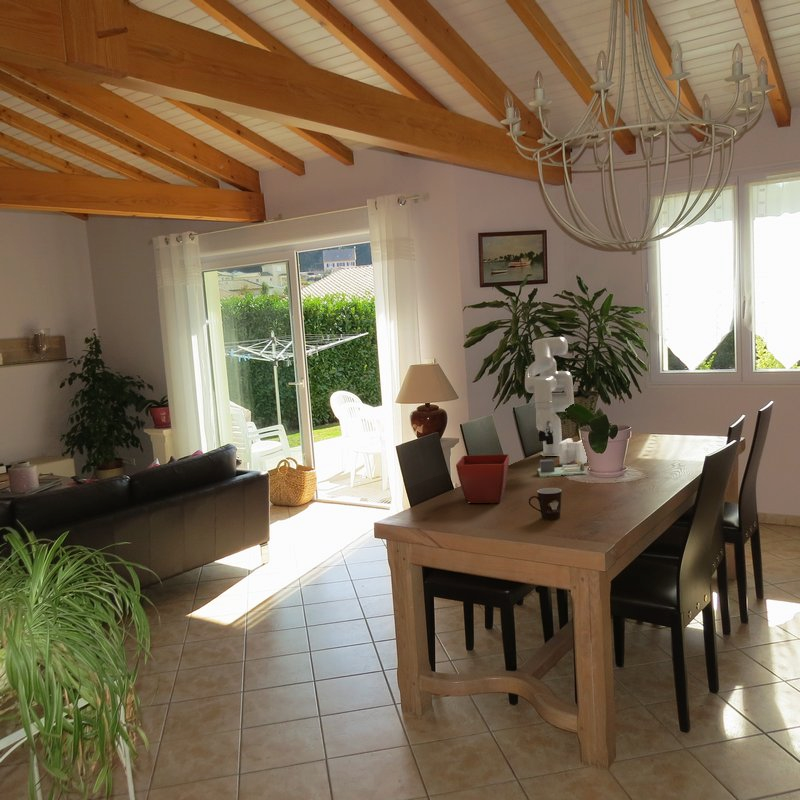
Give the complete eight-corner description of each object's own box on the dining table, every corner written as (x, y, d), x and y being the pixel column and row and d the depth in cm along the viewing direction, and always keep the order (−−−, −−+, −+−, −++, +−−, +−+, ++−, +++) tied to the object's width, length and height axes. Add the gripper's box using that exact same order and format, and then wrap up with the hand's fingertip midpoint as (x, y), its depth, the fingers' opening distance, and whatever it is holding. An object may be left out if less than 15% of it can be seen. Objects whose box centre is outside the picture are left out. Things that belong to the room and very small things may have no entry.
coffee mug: (563, 514, 279) (561, 487, 277) (563, 521, 270) (561, 493, 269) (531, 515, 281) (529, 488, 280) (529, 521, 273) (527, 494, 272)
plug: (540, 470, 352) (539, 459, 352) (553, 469, 351) (553, 459, 351) (541, 472, 348) (540, 461, 348) (554, 471, 347) (553, 460, 347)
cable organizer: (580, 467, 357) (578, 443, 356) (558, 466, 363) (557, 442, 361) (590, 461, 369) (589, 437, 368) (569, 460, 375) (568, 437, 374)
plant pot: (507, 506, 297) (504, 463, 296) (458, 506, 302) (455, 464, 300) (511, 494, 316) (509, 453, 314) (466, 495, 321) (463, 455, 319)
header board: (538, 470, 357) (537, 460, 357) (581, 468, 355) (581, 457, 354) (539, 477, 344) (539, 466, 343) (585, 474, 341) (584, 463, 341)
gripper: (529, 404, 355) (532, 440, 356) (542, 408, 338) (544, 446, 339) (545, 402, 356) (547, 439, 358) (558, 406, 339) (560, 444, 341)
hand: (546, 442), depth 348 cm, fingers open, 9 cm apart
